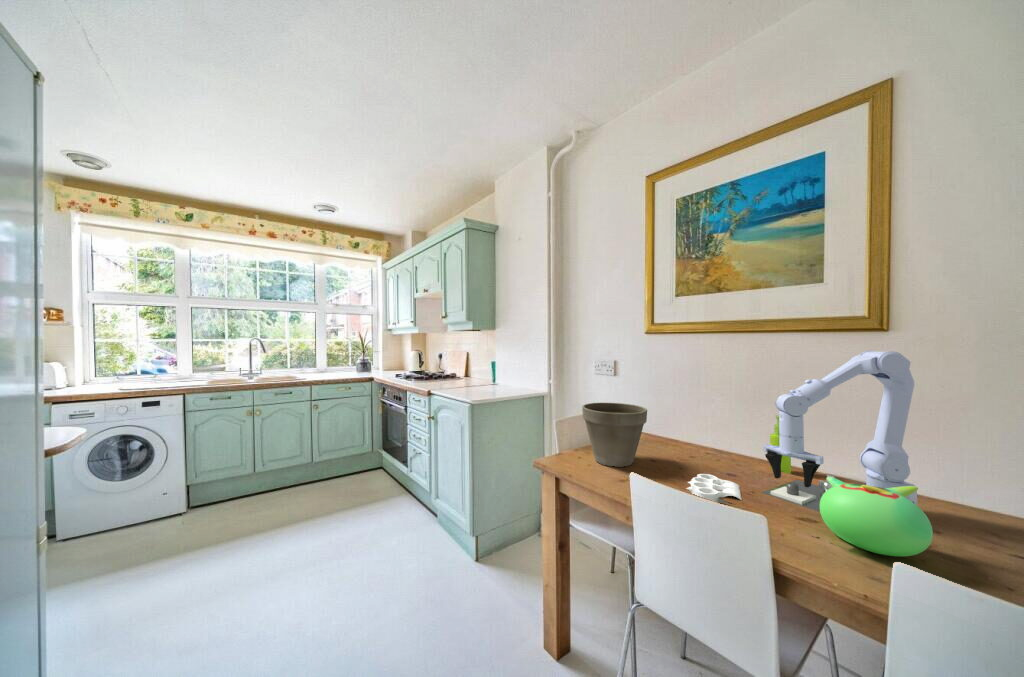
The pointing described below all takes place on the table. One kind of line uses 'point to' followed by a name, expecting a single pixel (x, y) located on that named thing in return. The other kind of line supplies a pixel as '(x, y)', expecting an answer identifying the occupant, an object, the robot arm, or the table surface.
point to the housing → (810, 490)
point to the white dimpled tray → (713, 488)
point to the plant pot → (614, 431)
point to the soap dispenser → (776, 442)
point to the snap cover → (793, 494)
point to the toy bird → (876, 518)
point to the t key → (825, 483)
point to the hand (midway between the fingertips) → (792, 481)
